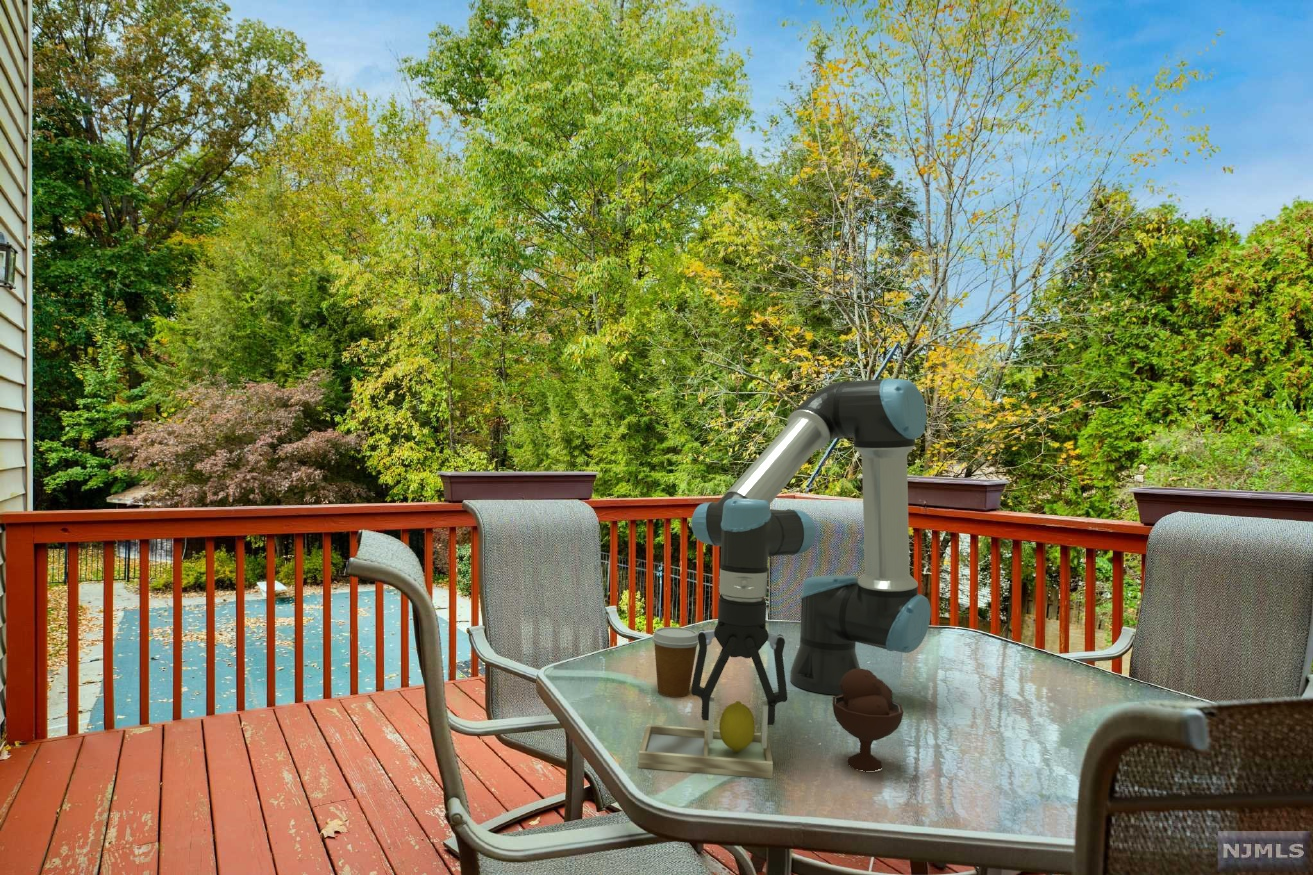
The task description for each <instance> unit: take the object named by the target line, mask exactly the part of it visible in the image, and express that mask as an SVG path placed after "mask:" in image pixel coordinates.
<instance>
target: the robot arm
mask: <svg viewBox="0 0 1313 875" xmlns="http://www.w3.org/2000/svg"><path fill="white" fill-rule="evenodd" d="M927 418H928V417H927V408H926V403H925V400H924V396H923V394H922V393H921V391H920V389H919V388H918V386H917V385H916V384H915V383H913V382H912V381H910V380H908V379H904V378H889V377H888V378H884V379H883V378H882V379H881V378H880V379H867V380H851V381H850V380H844V381H842V380H841V381H838V382H833V383H831V384H829V385H826V386H824V387H823V388H821V389H819V390H818V391H816V392H814V393H813V394H811V395H810V396H809V397H807V398H806V399H805V400H804V401H802V402H801V403H800V404H799V405H798V406H797V407H796V408H795V409H794V410H793V411H792V412H791V414H790V415H789V416H788V417H787V423H786V426H785V427H784V428H783V429H782V431H781V432H780V433H778V435H777V436H776V437H775V438H774V440H773V441H772V442H770V444H769V445H768V446H767V447H766V448H765V449H764V450H763V451H762V453H761V454H760V455H759V456H758V457H757V458H756V459H755V460H754V461H753V462H752V464H751V465H749V467H748V468H747V469H746V470H745V471H744V473H743V474H742V475H741V476H740V477H739V478H738V479H737V480H736V482H734V483H733V484H732V486H731V487H730V488H729V489H728V490H727V491H726V492H725V494H724V495H723V496H722V497H721V498H720V499H719V500H718V501H717V502H713V501H710V502H704V503H701V504H699V505H697V507H696V508H695V510H693V511H694V512H693V514H692V517H691V530H692V533H693V536H694V537H695V539H697V541H700V542H701V543H704V544H707V545H712V546H714V547H720V563H719V564H720V566H719V580H718V581H719V584H718V592H719V594H720V595H721V596H719V598H718V606H717V609H718V610H717V611H718V612H717V623H716V626H715V628H714V629H711V630H710V629H709V630H704V629H699V630H698V631H697V633H698V641H699V642H698V646H699V647H698V652H697V658H696V663H695V668H694V672H693V676H692V681H691V686H690V693H691V695H692V696H693V697H698V698H700V700H701V719H702V721H708V727H707V729H708V744H713V730H714V719H715V718H714V717H715V716H714V715H715V714H714V713H715V696H712V694H713V693H714V690H715V688H716V686H717V683H718V682H719V680H720V677H721V675H722V673H723V671H724V668H725V666H726V664H727V663H728V661H729V660H730V659H729V658H739V657H742V658H743V659H751V660H752V663H753V666H754V667H755V668H754V669H755V671H756V674H757V676H758V679H759V681H760V684H761V686H762V690H763V693H764V695H765V698H766V699H761V721H760V722H761V723H760V733H761V747H762V748H767V734H768V726H774V724H775V722H776V720H775V719H776V707H777V704H779V703H785V702H787V701H788V699H789V698H788V692H787V691H788V690H787V682H786V673H785V672H786V671H785V664H784V656H783V655H784V654H783V653H784V649H785V645H786V640H785V637H784V635H782V634H777V635H776V634H772V633H769V632H768V630H767V626H766V622H767V621H766V620H767V601H766V599H765V597H767V595H768V594H767V593H768V572H769V571H768V569H769V567H768V566H769V558H771V557H782V556H792V557H793V556H795V555H799V554H803V553H805V552H807V551H808V550H810V549H811V548H812V546H813V545H814V544H815V540H816V535H817V529H816V525H815V522H814V520H813V518H812V517H811V516H810V515H809V514H808V513H806V512H805V511H803V510H798V509H797V510H796V509H790V508H789V509H785V510H784V509H773V508H771V505H770V504H771V503H772V502H773V501H774V500H775V499H776V498H777V496H778V495H779V494H780V493H781V492H782V491H783V489H784V488H785V487H786V486H787V485H788V483H789V482H790V481H791V480H792V479H793V477H794V476H795V475H796V474H797V473H798V472H799V471H800V469H801V468H802V467H803V466H804V465H805V463H806V462H807V461H808V460H809V458H810V457H812V455H813V454H814V453H815V451H816V450H822V449H823V448H825V447H826V446H827V445H828V444H829V443H830V442H831V441H832V440H835V439H839V438H841V439H842V438H848V439H849V438H853V449H855V451H857V452H858V454H860V455H861V466H862V468H861V472H862V476H861V477H862V505H863V506H862V507H863V510H862V511H863V548H864V550H863V551H864V573H863V574H862V575H861V577H860V578H858V577H857V576H856V575H855V576H854V575H849V574H848V575H843V574H841V575H840V574H839V575H835V574H834V575H831V574H830V575H817V576H810V577H808V578H806V579H805V580H803V583H802V591H801V595H800V600H801V601H800V604H801V606H800V632H799V633H800V637H799V647H798V649H797V652H796V654H795V657H794V660H793V663H792V665H791V668H790V675H789V676H790V679H789V680H790V682H791V683H792V684H793V685H794V686H795V687H797V688H800V689H802V690H806V691H808V692H813V693H818V694H825V695H834V696H838V695H841V694H843V693H842V691H841V687H840V685H839V684H840V682H841V679H842V677H843V676H844V675H845V674H846V673H847V672H849V671H850V670H852V669H858V668H860V669H861V667H860V663H859V660H858V655H857V652H856V644H857V643H859V644H863V645H867V646H872V647H876V648H880V649H883V650H887V651H889V652H899V653H902V654H904V653H905V654H908V653H912V652H914V651H916V650H917V649H918V648H919V647H920V646H921V644H922V643H923V641H924V639H925V637H926V635H927V633H928V630H929V627H930V621H931V613H932V612H931V611H932V609H931V604H930V602H929V599H928V597H926V596H924V595H923V594H919V582H918V581H917V580H916V579H915V578H914V577H913V576H912V575H911V572H910V570H911V568H910V534H909V533H910V532H909V531H910V530H909V492H908V491H909V490H908V489H909V488H908V481H909V480H908V455H909V453H911V451H912V450H913V449H915V447H916V444H915V443H916V440H917V439H919V438H921V436H922V435H924V433H925V430H926V427H925V426H926V425H927V422H928V420H927ZM714 638H715V639H716V640H717V642H718V644H719V645H720V647H721V650H720V652H719V655H718V657H717V659H716V661H715V664H714V665H713V668H712V670H711V672H710V674H709V677H708V678H707V680H706V682H705V686H704V687H703V686H701V683H702V677H703V673H704V668H705V662H706V655H707V652H708V646H710V645H711V644H712V643H713V642H712V640H713V639H714ZM766 642H769V646H770V648H771V649H772V650H773V654H774V655H773V656H774V665H775V673H776V682H777V691H775V692H774V690H773V688H772V686H771V682H770V679H769V677H768V675H767V671H766V668H765V666H764V664H763V661H762V658H761V656H760V655H761V654H760V650H761V649H762V647H763V646H764V645H765V644H766Z"/></svg>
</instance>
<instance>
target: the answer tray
mask: <svg viewBox="0 0 1313 875" xmlns="http://www.w3.org/2000/svg"><path fill="white" fill-rule="evenodd" d="M772 756H773V755H772V751H771V745H770V740H769V735H768V733H767V748H762V747H761V732H755V733H754V737H753V740H752V742H751V743H750V745H749V746H748V747H746V748H745V749H742V750H740V751H739V752H738V753H735V752H734V751H733V750H732V749H731V748H729V747H727V746H726V745H725V744H724V742H723V741H722V738H721V735H720V729H713V744H708V728H697V727H685V726H683V727H682V726H673V725H670V726H669V725H663V724H662V725H660V724H646V727H645V729H644V734H643V737H642V740H641V744H640V748H639V751H638V764H637V765H638V766H637V768H639V769H652V770H664V771H675V772H677V771H678V772H686V773H687V772H688V773H697V774H699V773H700V774H701V773H702V774H711V775H723V776H737V777H747V778H758V779H773V771H774V770H773V768H774V763H773V757H772Z"/></svg>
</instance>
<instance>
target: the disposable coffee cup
mask: <svg viewBox="0 0 1313 875" xmlns="http://www.w3.org/2000/svg"><path fill="white" fill-rule="evenodd" d="M651 639H652V640H653V643H654V654H655V655H654V656H655V658H654V659H655V670H656V682H657V686H656V687H657V692H658V694H660V695H662V696H665V697H670V698H682V697H686V696H688V695H689V694H690V691H691V685H692V679H693V673H694V672H693V671H694V665H695V659H696V653H697V647H698V646H699V641H698V631H696V630H694V629H691V628H685V627H678V626H676V627H675V626H668V627H667V626H666V627H664V626H663V627H659V628H656V629H655V630H654V633H653V635H652V638H651Z"/></svg>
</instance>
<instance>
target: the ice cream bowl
mask: <svg viewBox="0 0 1313 875" xmlns="http://www.w3.org/2000/svg"><path fill="white" fill-rule="evenodd" d="M839 685H840V687H841V691H842V693H843V694H841V695H834V696H832V710H833V714H834V717H835V720H836V721H837V723H838V724H839V725H840V726H841V727H842V729H843V730H844V731H846V732H847V733H848V734H849V735H851V736H853V737H855V738H856V739H858V742H859V743H860V744H859V752H858V753H855V754H853V755H850V756H848V758H847V760H846V762H847V763H848V765H847V766H849V765H850V766H851V767H850V766H849V767H850V768H852V767H853V768H854V769H853V768H852V769H853V770H856V769H858V770H857V771H859V770H863V771H865V772H864V773H867V772H866V771H875V770H878V769H881V768H883V763H882V761H881V760H880V759H878V758H877V757H876V756H875V755H873V754H872V744H873V742H875V741H879V740H882V739H884V738H886V737H887V736H890V735H891V734H892V733H894V732H895V731H897V729H898V728H899V727H900V725H901V723H902V720H903V716H904V710H903V706H902V704H900V703H898V702H896V701H893V690H892V689H891V687H889V686H888V685H887V684H886V682H884V681H883V680H882V679H880V678H878V677H877V676H876V674H874V673H873V672H872V671H871V670H869V669H865V668H861V667H860V668H858V669H852V670H850V671H849V672H847V673H846V674H845V675H844V676H843V677H842V679H841V682H840V684H839ZM863 771H862V772H863Z"/></svg>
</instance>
